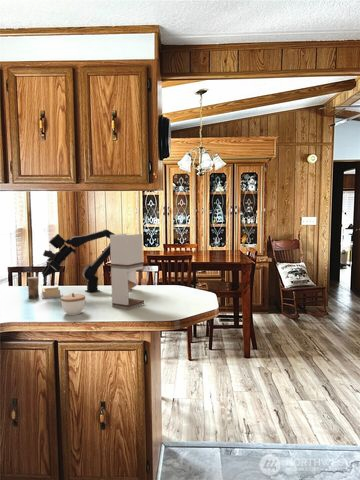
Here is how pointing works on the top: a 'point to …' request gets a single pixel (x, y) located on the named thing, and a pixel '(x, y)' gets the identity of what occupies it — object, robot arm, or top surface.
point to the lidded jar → (73, 303)
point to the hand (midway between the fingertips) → (42, 275)
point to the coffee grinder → (125, 268)
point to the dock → (51, 292)
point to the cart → (33, 287)
